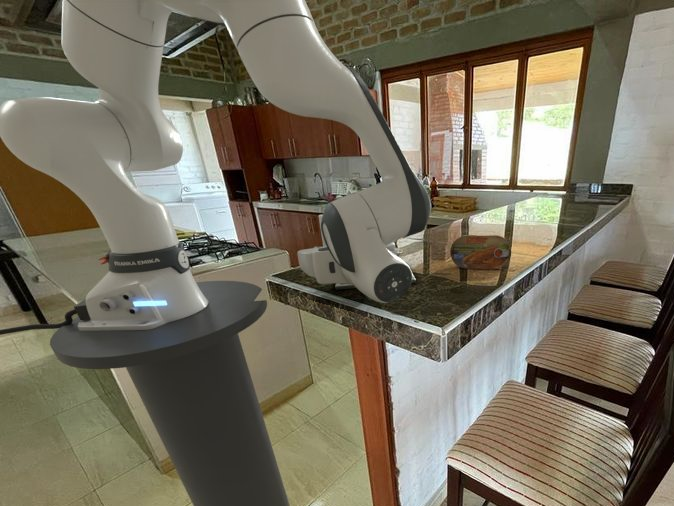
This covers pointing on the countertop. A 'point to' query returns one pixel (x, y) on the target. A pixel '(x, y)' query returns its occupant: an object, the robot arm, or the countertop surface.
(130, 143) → the robot arm
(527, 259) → the countertop surface
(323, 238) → the light grey bar
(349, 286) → the tablet
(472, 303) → the countertop surface
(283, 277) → the countertop surface
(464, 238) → the tin
